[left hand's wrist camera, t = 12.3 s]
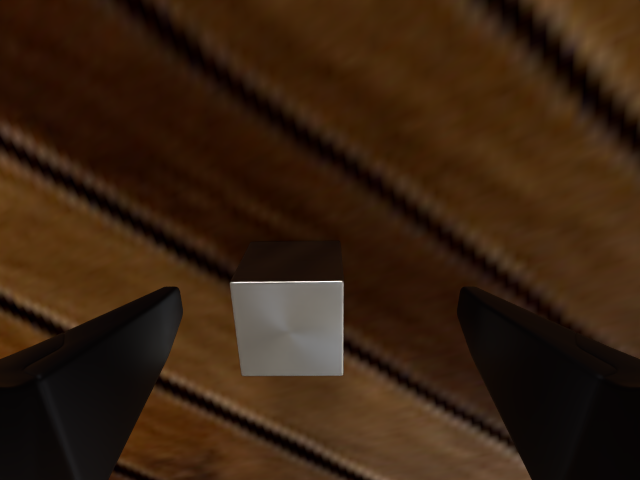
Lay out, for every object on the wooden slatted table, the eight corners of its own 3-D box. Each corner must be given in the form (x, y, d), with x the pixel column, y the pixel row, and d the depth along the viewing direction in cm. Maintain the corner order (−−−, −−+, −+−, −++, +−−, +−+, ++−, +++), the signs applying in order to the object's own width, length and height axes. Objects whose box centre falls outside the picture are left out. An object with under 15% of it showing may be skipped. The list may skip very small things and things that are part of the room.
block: (340, 240, 18) (343, 281, 14) (340, 319, 19) (343, 376, 15) (250, 241, 18) (228, 282, 14) (258, 320, 19) (241, 376, 16)
